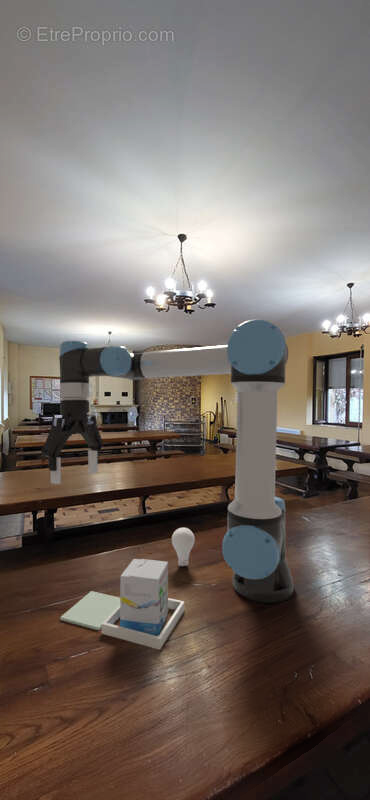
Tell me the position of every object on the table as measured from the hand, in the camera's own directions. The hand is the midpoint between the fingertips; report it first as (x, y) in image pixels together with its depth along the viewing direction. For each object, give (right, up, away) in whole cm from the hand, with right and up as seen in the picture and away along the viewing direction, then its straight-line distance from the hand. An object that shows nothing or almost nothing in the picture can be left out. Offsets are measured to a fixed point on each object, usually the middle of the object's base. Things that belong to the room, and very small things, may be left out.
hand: (75, 478), depth 91 cm
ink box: (+21, -27, -18) cm, 39 cm away
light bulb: (+29, -27, +7) cm, 40 cm away
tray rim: (+21, -27, -18) cm, 38 cm away
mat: (+9, -27, -14) cm, 32 cm away
